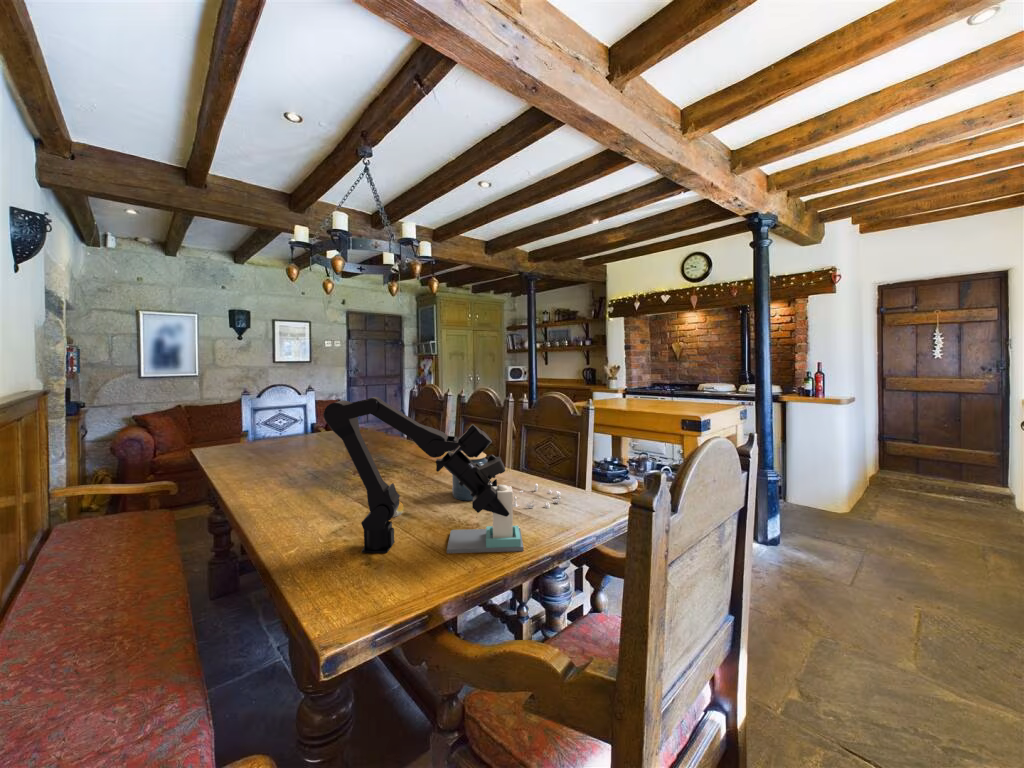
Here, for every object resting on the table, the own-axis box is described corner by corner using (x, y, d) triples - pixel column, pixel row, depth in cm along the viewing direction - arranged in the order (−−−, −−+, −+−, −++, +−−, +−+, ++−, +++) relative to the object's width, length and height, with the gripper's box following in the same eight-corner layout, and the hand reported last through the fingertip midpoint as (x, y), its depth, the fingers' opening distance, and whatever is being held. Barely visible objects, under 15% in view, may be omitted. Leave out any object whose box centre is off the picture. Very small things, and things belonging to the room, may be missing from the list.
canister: (445, 498, 146) (444, 448, 145) (463, 488, 158) (462, 441, 157) (478, 503, 141) (478, 450, 140) (495, 491, 153) (494, 443, 152)
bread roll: (403, 507, 139) (403, 495, 139) (403, 517, 130) (403, 504, 130) (377, 509, 137) (376, 497, 137) (374, 519, 128) (374, 506, 128)
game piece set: (492, 500, 145) (492, 489, 145) (532, 488, 159) (532, 477, 159) (535, 515, 131) (535, 503, 131) (574, 499, 145) (574, 488, 145)
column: (492, 541, 108) (492, 489, 107) (492, 532, 113) (492, 483, 112) (512, 540, 108) (512, 488, 107) (511, 532, 113) (511, 483, 112)
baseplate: (446, 553, 105) (446, 541, 105) (451, 533, 117) (451, 522, 117) (523, 551, 106) (523, 539, 106) (520, 531, 118) (520, 520, 118)
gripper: (486, 456, 99) (533, 501, 101) (486, 440, 118) (526, 479, 119) (452, 489, 99) (500, 534, 101) (458, 469, 118) (498, 507, 119)
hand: (507, 511), depth 110 cm, fingers closed on column, 5 cm apart
